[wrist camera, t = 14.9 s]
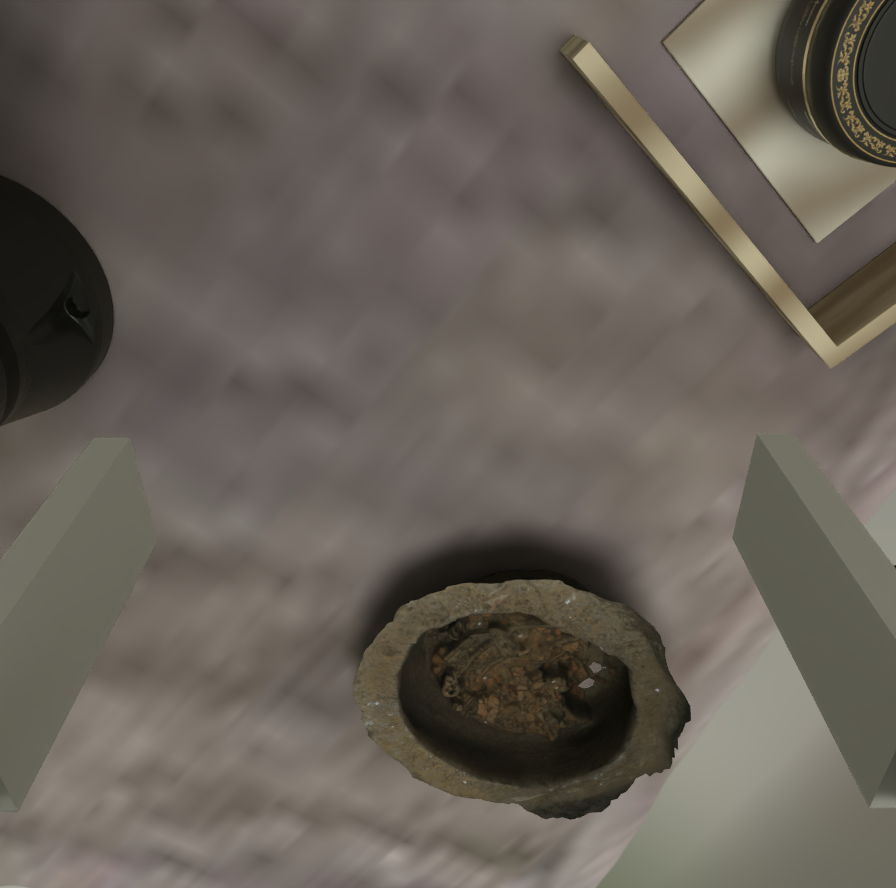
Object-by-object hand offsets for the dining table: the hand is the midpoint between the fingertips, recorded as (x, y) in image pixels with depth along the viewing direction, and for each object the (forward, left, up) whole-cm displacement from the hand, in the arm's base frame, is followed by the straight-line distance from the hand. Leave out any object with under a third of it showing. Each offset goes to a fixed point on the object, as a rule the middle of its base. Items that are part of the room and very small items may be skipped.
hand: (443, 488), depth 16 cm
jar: (+11, +20, -31) cm, 39 cm away
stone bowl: (+30, -23, -32) cm, 50 cm away
